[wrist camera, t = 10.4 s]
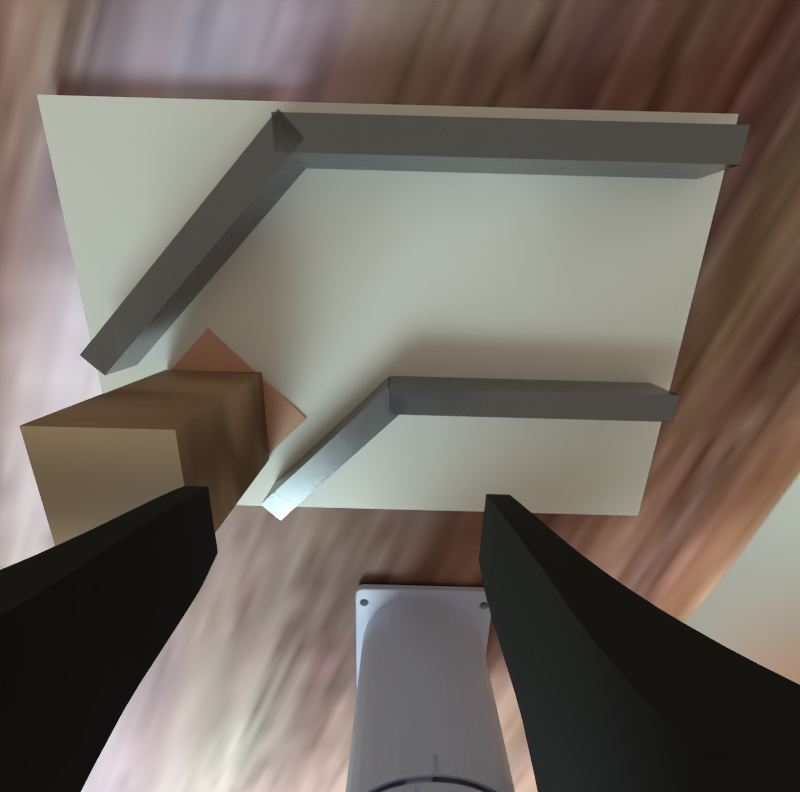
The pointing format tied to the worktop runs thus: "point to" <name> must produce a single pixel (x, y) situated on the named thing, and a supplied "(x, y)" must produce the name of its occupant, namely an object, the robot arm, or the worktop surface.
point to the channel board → (399, 294)
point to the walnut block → (149, 447)
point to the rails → (425, 152)
